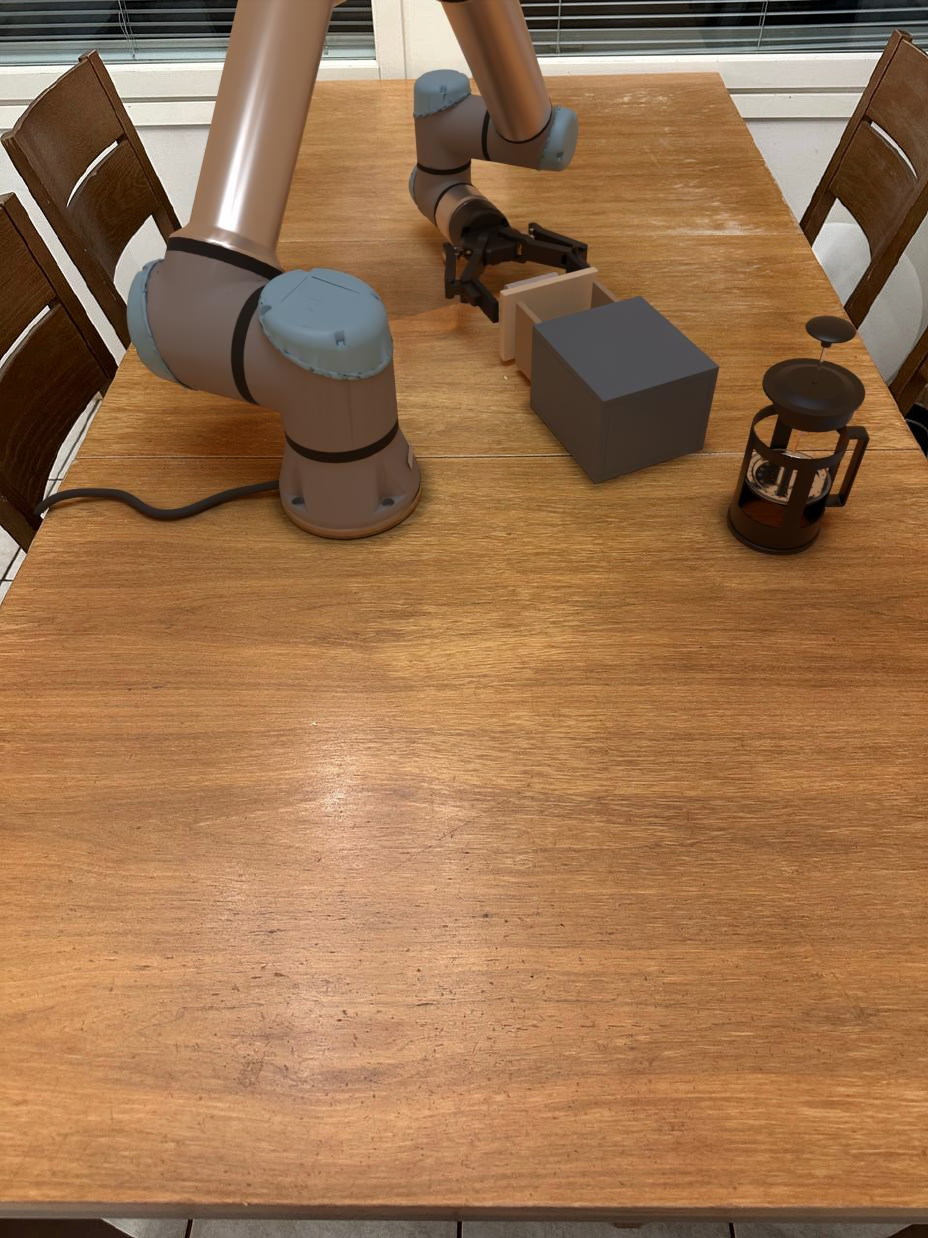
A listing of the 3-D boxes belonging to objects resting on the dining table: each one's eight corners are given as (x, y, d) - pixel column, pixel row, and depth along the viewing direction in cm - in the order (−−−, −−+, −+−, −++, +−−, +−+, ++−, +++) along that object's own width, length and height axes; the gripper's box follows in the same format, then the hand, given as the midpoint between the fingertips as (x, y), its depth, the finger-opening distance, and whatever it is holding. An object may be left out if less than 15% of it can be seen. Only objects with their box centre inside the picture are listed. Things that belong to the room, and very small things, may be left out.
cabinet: (529, 405, 112) (532, 324, 104) (630, 375, 116) (640, 294, 108) (595, 484, 103) (603, 401, 95) (702, 449, 106) (719, 366, 98)
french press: (727, 555, 95) (779, 356, 78) (713, 493, 101) (758, 296, 84) (846, 555, 95) (924, 355, 77) (824, 493, 101) (892, 295, 84)
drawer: (483, 337, 121) (482, 272, 114) (570, 313, 124) (574, 248, 117) (554, 420, 109) (557, 353, 102) (648, 392, 112) (658, 325, 105)
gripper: (553, 232, 134) (630, 303, 121) (390, 272, 128) (453, 351, 115) (555, 179, 128) (637, 247, 115) (385, 217, 122) (451, 295, 109)
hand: (545, 299), depth 115 cm, fingers closed on drawer, 13 cm apart
